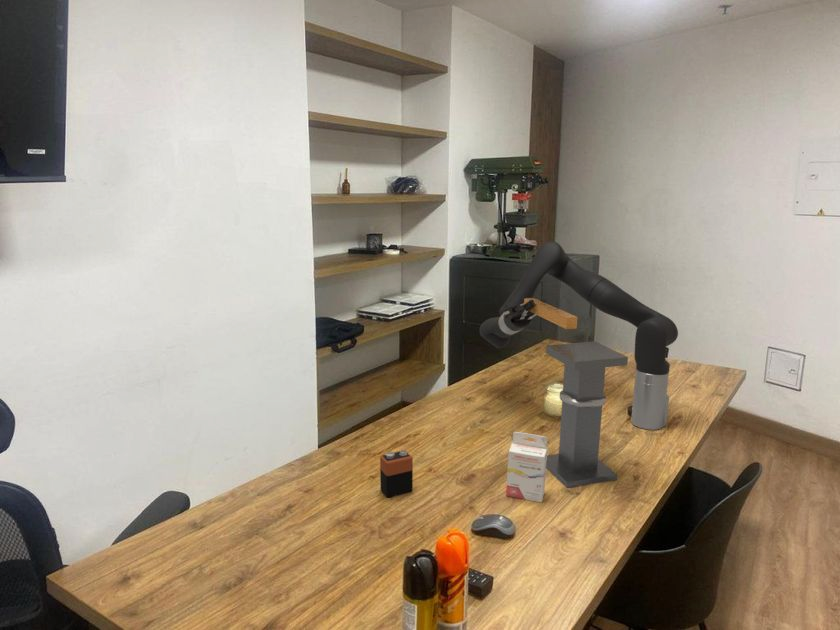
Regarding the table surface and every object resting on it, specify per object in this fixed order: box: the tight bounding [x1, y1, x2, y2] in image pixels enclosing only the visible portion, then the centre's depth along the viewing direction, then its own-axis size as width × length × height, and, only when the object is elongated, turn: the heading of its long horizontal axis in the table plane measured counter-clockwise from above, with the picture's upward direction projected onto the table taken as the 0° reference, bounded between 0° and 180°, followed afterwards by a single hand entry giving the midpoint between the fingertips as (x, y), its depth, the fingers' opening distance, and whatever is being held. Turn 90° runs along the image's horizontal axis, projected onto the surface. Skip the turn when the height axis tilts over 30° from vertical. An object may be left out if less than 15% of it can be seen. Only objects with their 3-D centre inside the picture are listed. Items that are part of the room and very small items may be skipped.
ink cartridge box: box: [505, 431, 548, 503], centre depth 137 cm, size 9×5×15 cm, turn 71°
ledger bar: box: [524, 297, 578, 330], centre depth 160 cm, size 3×24×3 cm, turn 16°
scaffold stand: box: [545, 341, 629, 489], centre depth 147 cm, size 14×14×32 cm
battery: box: [379, 449, 414, 498], centre depth 139 cm, size 4×7×10 cm, turn 117°
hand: (538, 302), depth 165 cm, fingers closed on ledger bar, 3 cm apart
